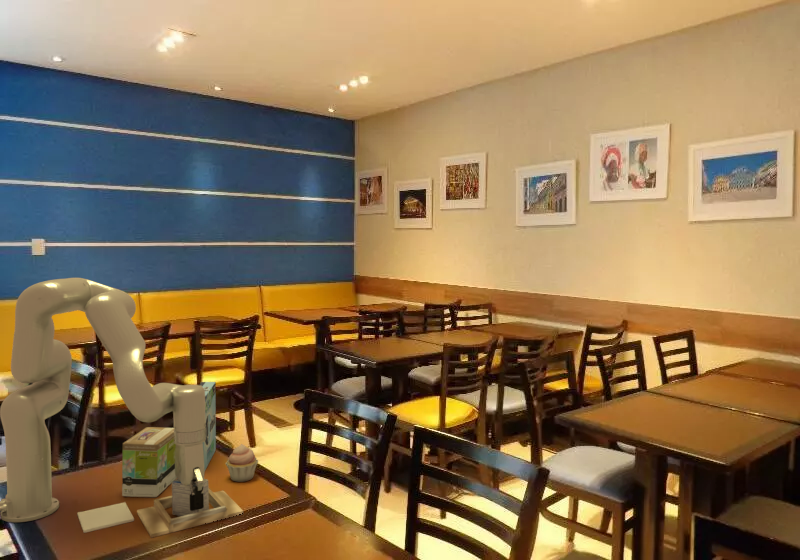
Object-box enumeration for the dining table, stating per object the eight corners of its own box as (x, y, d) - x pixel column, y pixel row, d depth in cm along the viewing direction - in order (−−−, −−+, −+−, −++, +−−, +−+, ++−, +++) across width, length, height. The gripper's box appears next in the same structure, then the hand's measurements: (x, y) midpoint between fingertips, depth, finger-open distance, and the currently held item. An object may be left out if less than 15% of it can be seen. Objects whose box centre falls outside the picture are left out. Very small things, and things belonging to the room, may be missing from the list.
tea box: (158, 498, 161) (157, 443, 160) (121, 497, 161) (120, 443, 160) (180, 476, 176) (179, 426, 175) (146, 475, 176) (145, 425, 175)
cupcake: (257, 470, 181) (257, 437, 180) (259, 482, 172) (259, 448, 171) (225, 473, 178) (225, 440, 178) (225, 485, 169) (224, 450, 169)
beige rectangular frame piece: (151, 538, 139) (151, 525, 139) (137, 513, 152) (136, 501, 152) (243, 514, 152) (243, 502, 152) (223, 493, 164) (223, 482, 164)
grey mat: (83, 532, 142) (83, 530, 141) (77, 515, 151) (77, 512, 150) (134, 520, 148) (134, 518, 148) (125, 504, 157) (125, 502, 157)
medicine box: (209, 512, 153) (209, 478, 152) (198, 520, 149) (198, 485, 148) (183, 507, 155) (182, 475, 155) (171, 515, 151) (171, 481, 150)
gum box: (201, 450, 197) (200, 381, 195) (217, 450, 198) (216, 381, 196) (187, 473, 178) (186, 397, 176) (205, 473, 178) (204, 397, 177)
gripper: (165, 428, 156) (166, 493, 157) (184, 448, 141) (185, 519, 143) (195, 423, 160) (196, 487, 161) (216, 442, 146) (217, 511, 147)
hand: (191, 502), depth 152 cm, fingers closed on medicine box, 9 cm apart
